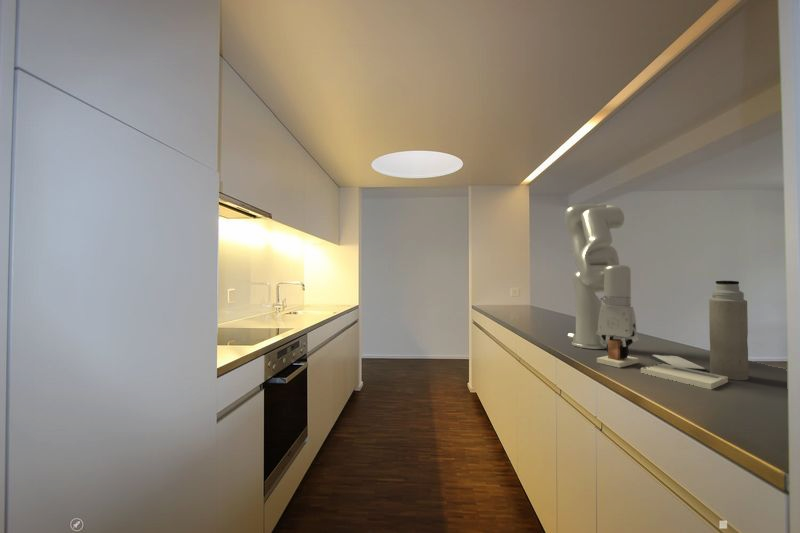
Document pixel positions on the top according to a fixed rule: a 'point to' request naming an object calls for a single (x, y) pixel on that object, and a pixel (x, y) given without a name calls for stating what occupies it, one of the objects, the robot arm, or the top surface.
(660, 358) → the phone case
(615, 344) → the stub
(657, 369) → the flat white tray
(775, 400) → the top surface
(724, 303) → the thermos bottle
